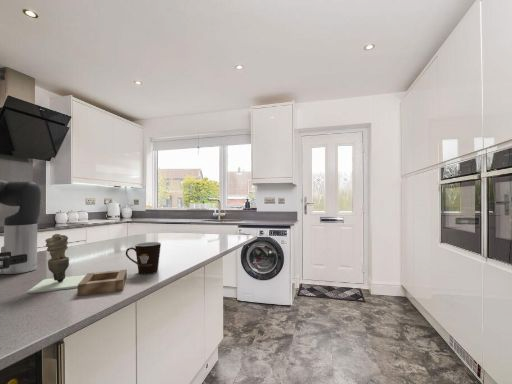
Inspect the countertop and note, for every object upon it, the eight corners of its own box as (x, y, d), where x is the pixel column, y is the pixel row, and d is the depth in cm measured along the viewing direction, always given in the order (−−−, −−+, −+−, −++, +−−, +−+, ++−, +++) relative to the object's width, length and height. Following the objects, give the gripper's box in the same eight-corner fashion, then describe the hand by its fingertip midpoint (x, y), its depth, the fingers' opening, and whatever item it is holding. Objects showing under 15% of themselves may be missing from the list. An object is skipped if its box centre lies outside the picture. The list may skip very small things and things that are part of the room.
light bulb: (56, 285, 77) (54, 235, 77) (42, 284, 78) (40, 235, 78) (74, 279, 83) (72, 232, 82) (60, 278, 84) (58, 232, 84)
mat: (27, 293, 72) (27, 291, 72) (44, 281, 83) (44, 279, 84) (78, 287, 77) (78, 285, 77) (87, 276, 88) (87, 274, 88)
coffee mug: (166, 270, 95) (166, 242, 96) (147, 276, 88) (147, 246, 88) (143, 267, 100) (143, 241, 101) (123, 272, 92) (123, 244, 93)
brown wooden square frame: (77, 296, 70) (77, 284, 70) (87, 283, 81) (87, 273, 81) (122, 290, 74) (123, 279, 74) (126, 278, 85) (126, 269, 85)
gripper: (-62, 256, 53) (32, 244, 68) (-87, 251, 59) (5, 241, 74) (-63, 293, 53) (32, 273, 68) (-88, 284, 59) (5, 267, 74)
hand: (18, 256), depth 71 cm, fingers open, 8 cm apart
